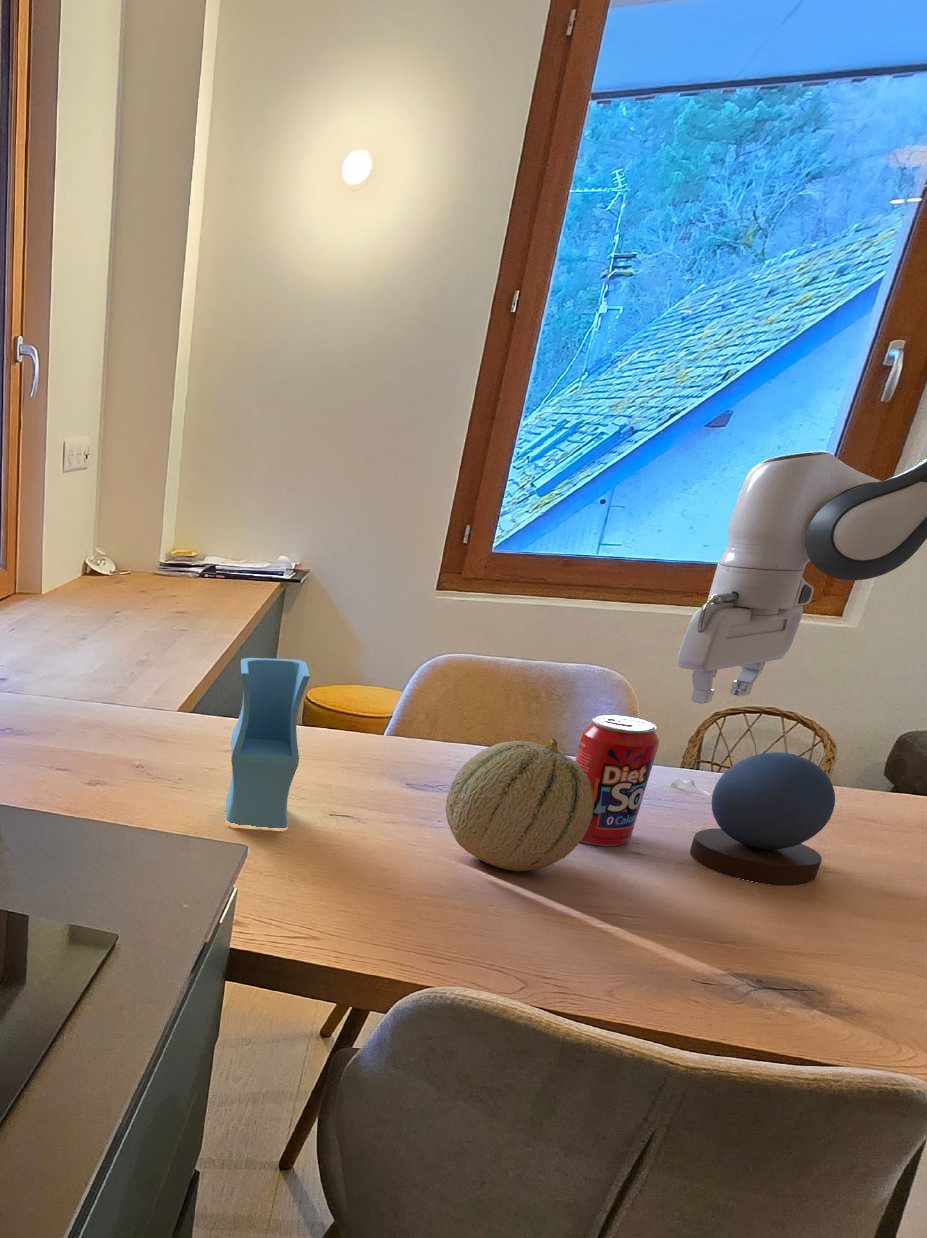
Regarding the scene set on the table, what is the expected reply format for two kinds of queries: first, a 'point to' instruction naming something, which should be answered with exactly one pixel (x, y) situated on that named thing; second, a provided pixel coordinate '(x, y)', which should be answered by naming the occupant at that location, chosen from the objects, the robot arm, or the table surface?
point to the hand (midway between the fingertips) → (720, 698)
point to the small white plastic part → (688, 786)
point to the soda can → (616, 774)
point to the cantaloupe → (520, 805)
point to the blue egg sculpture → (767, 820)
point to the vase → (265, 741)
